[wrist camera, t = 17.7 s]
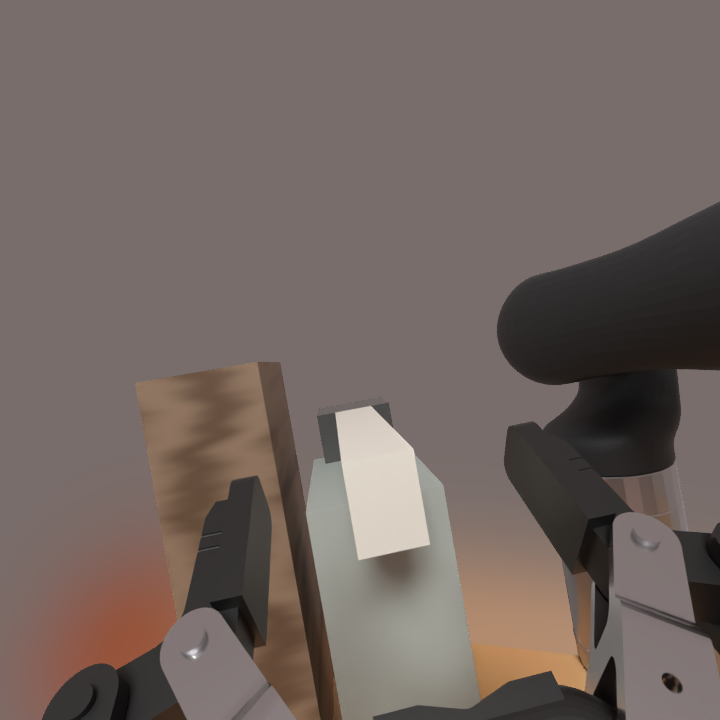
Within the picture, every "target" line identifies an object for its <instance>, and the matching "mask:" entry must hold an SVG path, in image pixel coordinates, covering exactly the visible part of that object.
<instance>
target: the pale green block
mask: <svg viewBox="0 0 720 720" xmlns="http://www.w3.org/2000/svg"><path fill="white" fill-rule="evenodd" d="M414 455H415V454H414ZM415 461H416V467H417V472H418V478H419V484H420V489H421V495H422V501H423V507H424V512H425V518H426V524H427V529H428V535H429V541H430V545H426V546H422V547H417V548H412V549H408V550H403V551H399V552H394V553H390V554H385V555H381V556H376V557H371V558H367V559H362V560H358V555H357V549H356V543H355V538H354V532H353V526H352V521H351V515H350V509H349V503H348V498H347V492H346V486H345V481H344V475H343V469H342V464H341V461H338V462H333V463H328V464H326V463H325V458H320V459H315V460H314V464H313V470H312V477H311V484H310V490H309V496H308V502H307V509H306V517H307V523H308V528H309V534H310V540H311V545H312V551H313V557H314V562H315V568H316V574H317V579H318V585H319V591H320V596H321V602H322V608H323V613H324V619H325V625H326V630H327V636H328V642H329V647H330V653H331V659H332V664H333V670H334V676H335V681H336V687H337V693H338V698H339V704H340V710H341V715H342V720H373V716H377V715H381V714H385V713H389V712H393V711H397V710H401V709H405V708H408V707H412V706H416V705H423V706H435V707H446V708H458V709H468V708H471V707H473V706H474V705H476V704H477V703H479V702H480V701H481V699H480V693H479V688H478V682H477V676H476V670H475V665H474V659H473V653H472V648H471V642H470V636H469V630H468V625H467V619H466V613H465V608H464V602H463V596H462V590H461V585H460V579H459V573H458V568H457V562H456V557H455V550H454V545H453V539H452V533H451V527H450V522H449V516H448V510H447V505H446V499H445V494H444V487H443V484H442V483H441V482H440V481H439V480H438V479H437V478H436V477H435V476H434V475H433V474H432V473H431V471H429V469H428V468H427V467H426V466H425V465H424V464H423V463H422V462H421V461H420V460H419V459H418V458H417V457H416V455H415Z"/></svg>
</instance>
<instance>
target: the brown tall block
mask: <svg viewBox="0 0 720 720" xmlns="http://www.w3.org/2000/svg"><path fill="white" fill-rule="evenodd" d="M135 385H136V391H137V396H138V401H139V408H140V412H141V418H142V424H143V430H144V436H145V441H146V447H147V452H148V458H149V463H150V469H151V475H152V480H153V485H154V491H155V497H156V503H157V508H158V514H159V520H160V525H161V531H162V536H163V542H164V548H165V553H166V559H167V564H168V570H169V576H170V581H171V587H172V593H173V598H174V604H175V609H176V615H177V621H178V620H179V619H180V618H181V617H182V614H183V612H184V608H185V605H186V600H187V596H188V592H189V587H190V583H191V578H192V574H193V570H194V565H195V561H196V556H197V553H198V548H199V543H200V539H201V538H202V530H203V526H204V521H205V518H206V516H207V515H208V513H209V511H210V510H211V508H212V507H213V505H214V504H215V502H217V501H222V500H227V499H228V495H229V489H230V484H231V481H232V480H236V479H241V478H246V477H251V476H256V475H257V476H258V477H259V479H260V482H261V485H262V488H263V491H264V494H265V497H266V500H267V503H268V506H269V509H270V513H271V521H272V535H271V556H270V577H269V598H268V619H267V640H266V646H262V647H257V648H254V655H253V661H254V663H255V664H256V666H257V667H258V669H259V670H260V672H261V673H262V674H263V676H264V677H265V679H266V680H267V681H268V682H269V683H270V684H271V685H272V686H273V687H274V689H275V690H276V691H277V693H278V694H279V696H280V697H281V698H282V700H283V701H284V703H285V704H286V706H287V707H288V708H289V710H290V711H291V713H292V714H293V716H294V717H295V718H296V720H333V664H332V659H331V653H330V647H329V642H328V636H327V630H326V625H325V619H324V613H323V608H322V602H321V596H320V591H319V585H318V579H317V574H316V568H315V562H314V557H313V551H312V545H311V540H310V534H309V528H308V523H307V517H306V506H305V501H304V496H303V490H302V484H301V479H300V472H299V467H298V461H297V455H296V450H295V444H294V439H293V433H292V427H291V422H290V416H289V411H288V405H287V399H286V394H285V388H284V382H283V376H282V371H281V365H280V363H279V362H254V363H248V364H243V365H236V366H231V367H225V368H219V369H213V370H207V371H202V372H196V373H191V374H185V375H179V376H173V377H167V378H161V379H156V380H150V381H144V382H138V383H135Z"/></svg>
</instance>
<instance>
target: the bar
mask: <svg viewBox="0 0 720 720" xmlns="http://www.w3.org/2000/svg"><path fill="white" fill-rule="evenodd" d="M317 418H318V424H319V429H320V435H321V441H322V446H323V452H324V458H325V463H326V464H328V463H333V462H338V461H341V464H342V469H343V475H344V481H345V486H346V492H347V498H348V503H349V509H350V515H351V521H352V526H353V532H354V538H355V543H356V549H357V555H358V560H362V559H367V558H371V557H376V556H381V555H385V554H390V553H394V552H399V551H403V550H408V549H412V548H417V547H422V546H426V545H430V541H429V535H428V529H427V524H426V518H425V512H424V507H423V501H422V495H421V489H420V484H419V478H418V472H417V467H416V461H415V455H414V449H413V448H412V447H411V446H410V445H409V444H408V443H407V442H406V441H405V440H404V439H403V438H402V437H401V436H400V435H399V434H398V433H397V432H396V431H395V430H394V429H393V425H392V419H391V414H390V408H389V403H388V402H387V401H385V400H384V399H382V398H375V399H369V400H363V401H358V402H353V403H347V404H342V405H336V406H331V407H326V408H321V409H319V410H318V414H317Z"/></svg>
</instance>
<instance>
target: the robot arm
mask: <svg viewBox="0 0 720 720" xmlns="http://www.w3.org/2000/svg"><path fill="white" fill-rule="evenodd" d="M497 337H498V342H499V346H500V348H501V351H502V352H503V355H504V357H505V358H506V359H507V361H508V362H509V363H510V365H511V366H512V367H513V368H514V369H515V370H516V371H517V372H519V373H521V374H522V375H523V376H525V377H526V378H528V379H531V380H533V381H535V382H538V383H543V384H547V385H561V384H568V383H573V382H579V390H578V393H577V396H576V397H575V399H574V400H573V402H572V403H571V404H570V406H569V407H568V408H567V409H566V410H565V411H564V412H563V413H561V414H560V415H559V416H558V417H556V418H555V419H554V420H552V421H551V422H550V423H548V424H547V425H546V426H545V428H544V429H543V430H542V429H541V428H540V427H539V426H538V425H537V424H536V423H535V422H528V423H523V424H518V425H512V426H509V427H508V430H507V439H506V447H505V456H504V466H505V470H506V473H507V476H508V478H509V479H510V481H511V483H512V484H513V486H514V487H515V489H516V490H517V492H518V493H519V495H520V496H521V498H522V499H523V501H524V502H525V504H526V505H527V507H528V508H529V510H530V511H531V513H532V514H533V516H534V517H535V519H536V521H537V522H538V523H539V525H540V527H541V528H542V529H543V531H544V533H545V534H546V536H547V537H548V538H549V540H550V542H551V543H552V545H553V546H554V548H555V549H556V551H557V552H558V554H559V555H560V557H561V558H562V563H563V568H564V575H565V580H566V586H567V592H568V598H569V604H570V609H571V615H572V621H573V627H574V628H573V630H574V635H575V639H576V644H577V649H578V654H579V657H580V659H581V661H582V663H583V665H584V666H585V668H586V669H587V677H586V686H585V692H584V691H581V690H579V689H576V688H572V687H568V686H563V685H558V684H557V682H556V680H555V678H554V676H553V674H552V672H551V671H548V672H545V673H541V674H537V675H533V676H529V677H525V678H521V679H517V680H513V681H510V682H508V683H506V684H505V685H503V686H502V687H500V688H499V689H497V690H496V691H495V692H493V693H492V694H490V695H489V696H487V697H486V698H485V699H483V700H482V701H480V702H479V703H477V704H476V705H474V706H473V707H471V708H468V709H458V708H446V707H435V706H423V705H416V706H412V707H408V708H405V709H401V710H397V711H393V712H389V713H385V714H381V715H377V716H373V720H720V523H718V524H717V525H716V527H715V528H714V530H713V532H712V534H710V533H699V532H688V527H687V521H686V515H685V509H684V503H683V498H682V493H681V487H680V481H679V475H678V470H677V464H676V460H675V452H674V437H675V434H676V431H677V429H678V426H679V422H680V416H681V405H680V395H679V385H678V376H677V369H698V370H720V202H718V203H716V204H714V205H712V206H710V207H708V208H706V209H704V210H702V211H700V212H698V213H696V214H694V215H692V216H690V217H688V218H686V219H684V220H682V221H680V222H678V223H676V224H674V225H672V226H670V227H668V228H666V229H664V230H662V231H660V232H658V233H656V234H654V235H652V236H650V237H648V238H646V239H644V240H642V241H640V242H638V243H635V244H633V245H630V246H628V247H625V248H623V249H621V250H618V251H615V252H612V253H609V254H607V255H604V256H601V257H598V258H595V259H592V260H588V261H585V262H582V263H579V264H576V265H573V266H569V267H566V268H563V269H559V270H556V271H551V272H547V273H543V274H540V275H536V276H533V277H530V278H528V279H526V280H525V281H524V282H522V283H520V284H519V285H518V286H517V287H516V288H515V289H514V290H513V291H512V292H511V294H510V295H509V296H508V298H507V299H506V301H505V303H504V304H503V306H502V309H501V311H500V314H499V318H498V324H497ZM271 535H272V521H271V513H270V509H269V506H268V503H267V500H266V497H265V494H264V491H263V488H262V485H261V482H260V479H259V477H258V476H257V475H256V476H251V477H246V478H241V479H236V480H232V481H231V484H230V489H229V495H228V499H227V500H222V501H217V502H215V504H214V505H213V507H212V508H211V510H210V511H209V513H208V515H207V516H206V518H205V521H204V526H203V530H202V538H201V539H200V543H199V548H198V553H197V556H196V561H195V565H194V570H193V574H192V578H191V583H190V587H189V592H188V596H187V600H186V605H185V608H184V612H183V614H182V617H181V618H180V619H179V620H178V621H177V622H176V623H175V624H174V625H173V626H172V628H171V629H170V630H169V632H168V633H167V635H166V637H165V639H164V641H163V642H162V643H160V644H159V645H158V646H157V647H155V648H154V649H152V650H150V651H149V652H147V653H145V654H143V655H142V656H140V657H138V658H136V659H135V660H133V661H131V662H129V663H128V664H126V665H124V666H123V667H121V668H119V669H117V670H115V669H114V668H113V667H112V666H110V665H108V664H95V665H92V666H89V667H87V668H85V669H83V670H81V671H80V672H78V673H77V674H75V675H74V676H73V677H72V678H70V679H69V680H68V681H67V682H66V683H65V684H64V685H63V686H62V687H61V689H59V691H58V692H57V693H56V695H55V696H54V697H53V699H52V700H51V702H50V704H49V705H48V707H47V709H46V711H45V713H44V715H43V718H42V720H296V718H295V717H294V716H293V714H292V713H291V711H290V710H289V708H288V707H287V706H286V704H285V703H284V701H283V700H282V698H281V697H280V696H279V694H278V693H277V691H276V690H275V689H274V687H273V686H272V685H271V684H270V683H269V682H268V681H267V680H266V679H265V677H264V676H263V674H262V673H261V672H260V670H259V669H258V667H257V666H256V664H255V663H254V661H253V655H254V648H257V647H262V646H266V640H267V619H268V598H269V577H270V556H271Z"/></svg>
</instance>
